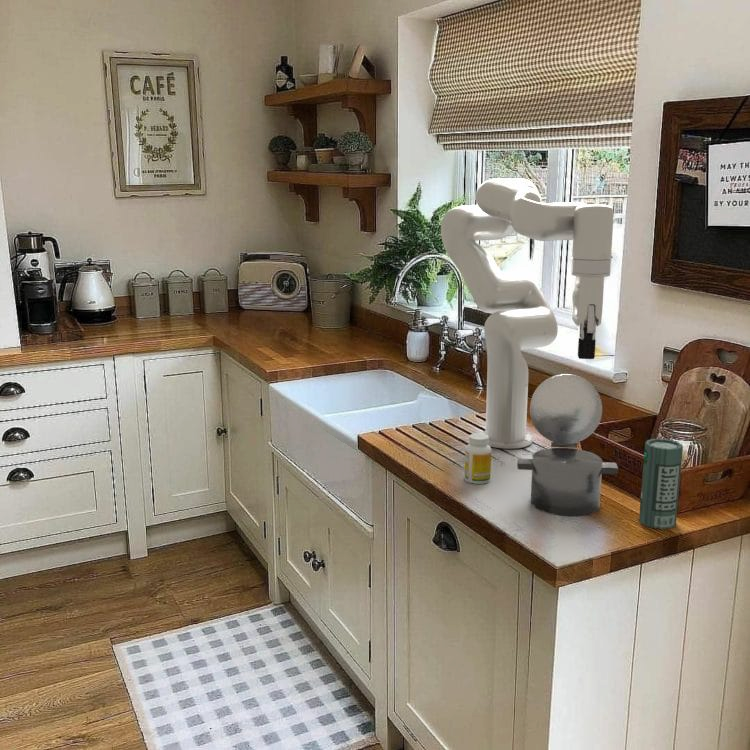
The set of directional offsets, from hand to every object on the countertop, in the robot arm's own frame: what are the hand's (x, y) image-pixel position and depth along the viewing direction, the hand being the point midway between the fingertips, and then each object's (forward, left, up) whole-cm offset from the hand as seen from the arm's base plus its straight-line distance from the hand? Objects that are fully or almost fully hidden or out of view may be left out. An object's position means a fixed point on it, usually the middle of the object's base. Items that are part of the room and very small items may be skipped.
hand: (586, 357), depth 168 cm
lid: (+8, -4, -9) cm, 13 cm away
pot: (+16, -4, -25) cm, 30 cm away
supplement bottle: (+6, -21, -26) cm, 34 cm away
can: (+23, +12, -26) cm, 36 cm away
